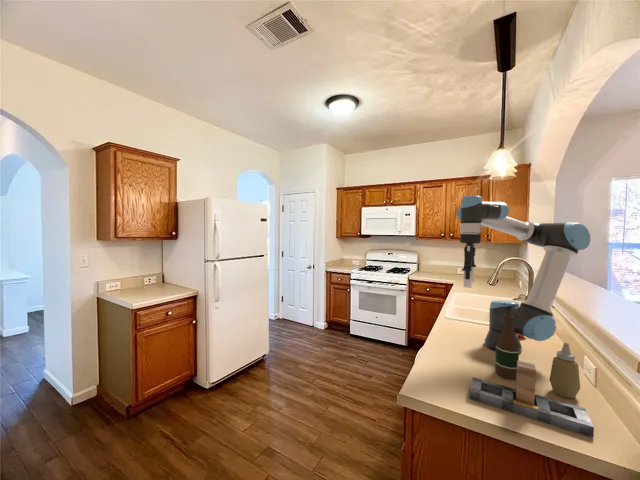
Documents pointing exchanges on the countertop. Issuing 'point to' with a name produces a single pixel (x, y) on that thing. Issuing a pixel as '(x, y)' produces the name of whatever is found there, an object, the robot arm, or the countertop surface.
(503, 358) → the beer bottle
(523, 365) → the walnut peg
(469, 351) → the countertop surface
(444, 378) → the countertop surface
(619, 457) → the countertop surface
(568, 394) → the squeeze bottle
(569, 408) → the metal rail
